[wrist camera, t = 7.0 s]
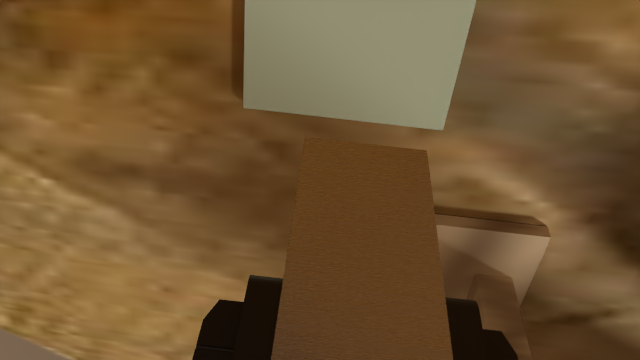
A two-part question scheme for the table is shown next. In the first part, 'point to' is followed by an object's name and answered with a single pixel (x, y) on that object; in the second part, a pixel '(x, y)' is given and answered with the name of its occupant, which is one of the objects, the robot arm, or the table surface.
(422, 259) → the pinkish grey arch
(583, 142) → the table surface
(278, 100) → the mat
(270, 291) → the robot arm
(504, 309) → the stand
